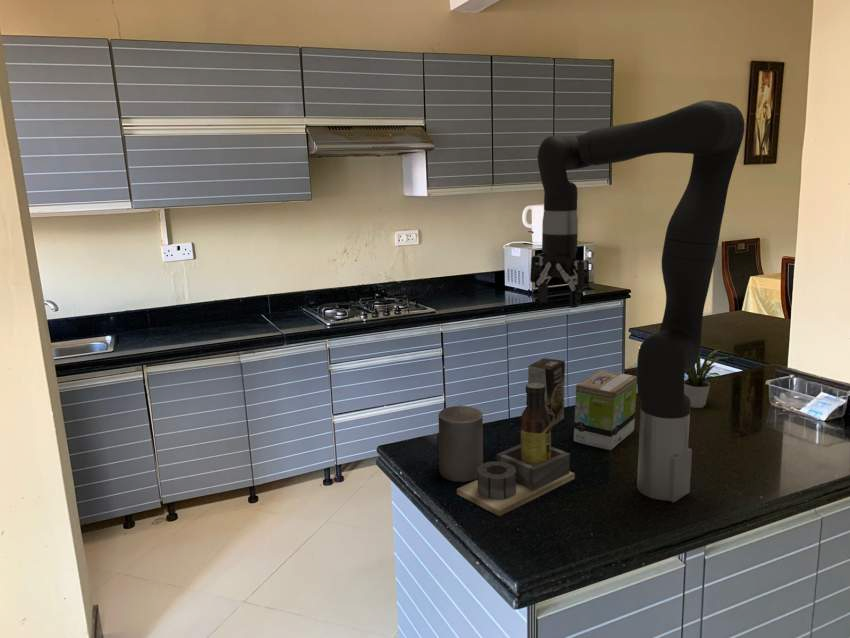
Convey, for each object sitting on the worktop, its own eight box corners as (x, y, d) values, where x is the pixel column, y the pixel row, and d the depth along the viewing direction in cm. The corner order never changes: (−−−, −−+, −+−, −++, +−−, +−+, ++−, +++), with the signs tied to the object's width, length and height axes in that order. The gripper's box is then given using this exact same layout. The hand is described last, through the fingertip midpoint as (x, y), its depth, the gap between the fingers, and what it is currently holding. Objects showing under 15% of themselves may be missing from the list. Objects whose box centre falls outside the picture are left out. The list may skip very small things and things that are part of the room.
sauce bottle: (553, 481, 134) (554, 390, 129) (523, 482, 134) (523, 391, 129) (547, 467, 140) (548, 380, 136) (518, 468, 140) (518, 381, 136)
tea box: (612, 452, 150) (615, 391, 146) (572, 442, 156) (573, 384, 152) (635, 430, 161) (638, 374, 158) (597, 422, 167) (598, 368, 164)
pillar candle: (433, 466, 145) (431, 404, 141) (472, 459, 148) (471, 397, 145) (449, 486, 136) (448, 419, 132) (491, 477, 139) (490, 412, 136)
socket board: (574, 478, 137) (575, 453, 136) (499, 516, 123) (499, 489, 122) (531, 460, 146) (531, 437, 145) (456, 494, 132) (456, 468, 131)
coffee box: (549, 430, 163) (550, 369, 160) (526, 425, 167) (527, 365, 164) (565, 419, 170) (566, 360, 167) (542, 414, 174) (543, 356, 171)
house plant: (731, 401, 179) (736, 344, 176) (724, 417, 168) (729, 357, 165) (678, 393, 187) (681, 338, 183) (667, 408, 176) (670, 350, 172)
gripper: (598, 231, 137) (595, 306, 140) (545, 228, 147) (543, 298, 151) (576, 234, 132) (574, 311, 136) (523, 231, 143) (522, 302, 146)
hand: (558, 304), depth 143 cm, fingers open, 8 cm apart
